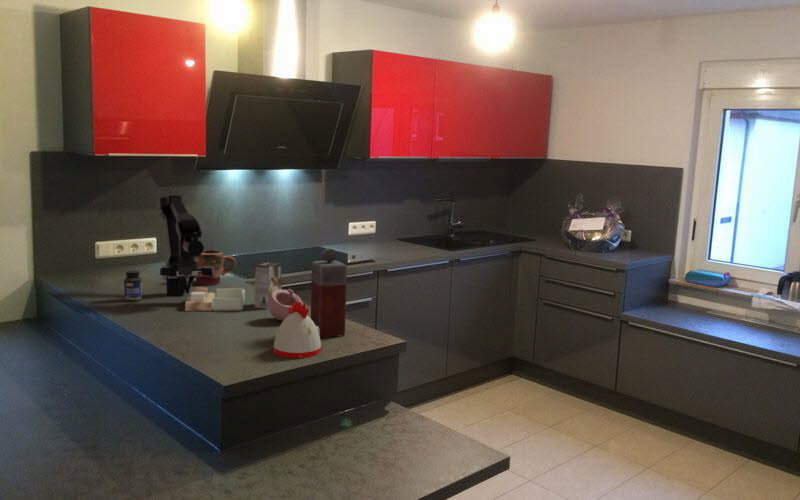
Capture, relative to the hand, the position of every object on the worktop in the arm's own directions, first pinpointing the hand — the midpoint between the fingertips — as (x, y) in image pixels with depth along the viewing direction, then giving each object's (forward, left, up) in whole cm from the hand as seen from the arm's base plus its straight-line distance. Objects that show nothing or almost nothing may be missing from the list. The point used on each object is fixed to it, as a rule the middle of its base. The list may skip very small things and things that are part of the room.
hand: (187, 293), depth 255 cm
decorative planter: (+6, +38, -4) cm, 38 cm away
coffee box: (+30, -5, -4) cm, 30 cm away
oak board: (+5, -4, -4) cm, 7 cm away
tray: (+15, -4, -4) cm, 16 cm away
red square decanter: (+49, -43, -4) cm, 65 cm away
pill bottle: (-20, +5, -4) cm, 21 cm away
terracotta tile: (+5, 0, -1) cm, 5 cm away
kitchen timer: (+39, -63, -4) cm, 74 cm away
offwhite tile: (+5, -8, -1) cm, 9 cm away
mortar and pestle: (+36, -27, -4) cm, 45 cm away
